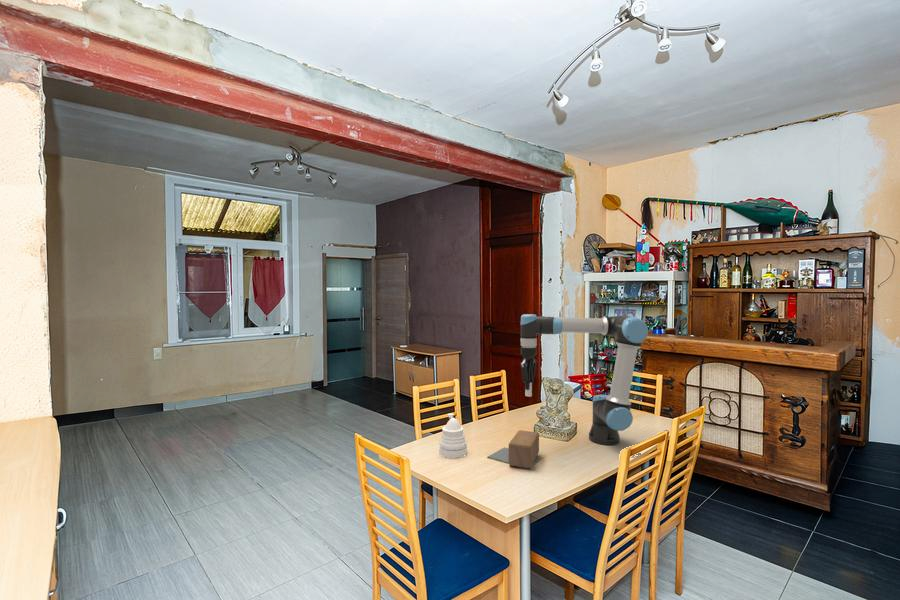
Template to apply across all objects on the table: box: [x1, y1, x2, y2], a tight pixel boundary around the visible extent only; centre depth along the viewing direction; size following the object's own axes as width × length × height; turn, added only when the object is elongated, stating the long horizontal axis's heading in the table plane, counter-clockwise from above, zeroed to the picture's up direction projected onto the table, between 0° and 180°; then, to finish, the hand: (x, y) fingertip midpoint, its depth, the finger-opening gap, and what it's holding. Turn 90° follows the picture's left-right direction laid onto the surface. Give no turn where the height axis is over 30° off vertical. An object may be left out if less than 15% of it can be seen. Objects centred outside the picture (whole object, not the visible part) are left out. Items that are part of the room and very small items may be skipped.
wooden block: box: [508, 429, 540, 469], centre depth 200 cm, size 10×10×20 cm
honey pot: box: [439, 413, 468, 459], centre depth 209 cm, size 13×13×18 cm
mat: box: [487, 447, 543, 470], centre depth 203 cm, size 20×15×1 cm
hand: (528, 396), depth 212 cm, fingers closed
